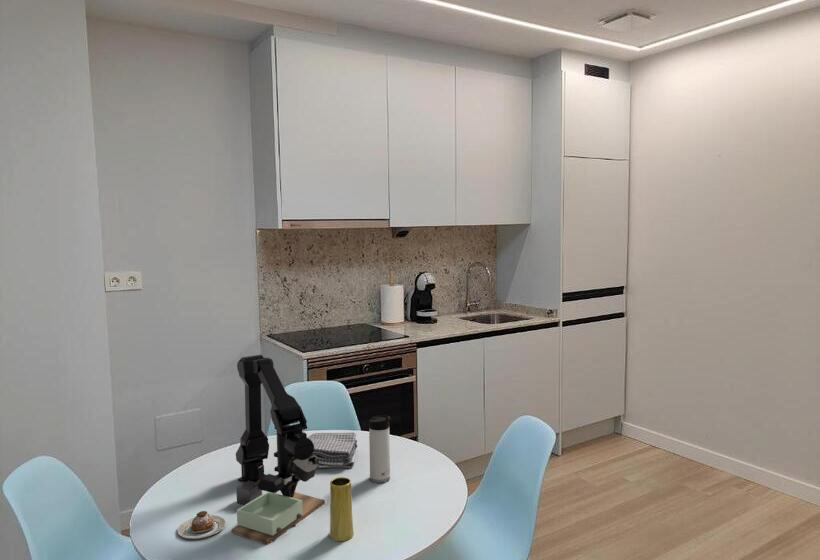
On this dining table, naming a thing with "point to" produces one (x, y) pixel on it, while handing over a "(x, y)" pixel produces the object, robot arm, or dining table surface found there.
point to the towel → (334, 449)
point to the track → (308, 507)
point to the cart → (270, 513)
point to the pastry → (201, 525)
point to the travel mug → (379, 448)
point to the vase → (341, 509)
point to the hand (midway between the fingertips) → (289, 502)
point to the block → (247, 492)
